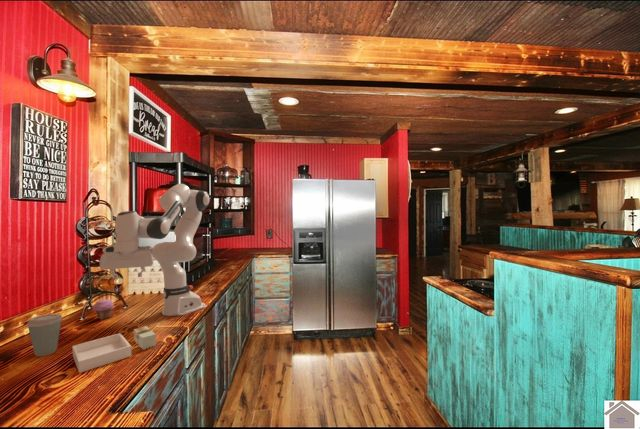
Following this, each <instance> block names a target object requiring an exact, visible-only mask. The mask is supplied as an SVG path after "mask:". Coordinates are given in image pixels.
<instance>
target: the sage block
mask: <svg viewBox="0 0 640 429" xmlns="http://www.w3.org/2000/svg"><path fill="white" fill-rule="evenodd" d="M155 345H156V346H157V334H156V333H155V332H154V331H153V330H150V332H146V333H143V334H139V344H138V347H139V348H140V347H141V348H142V349H144V350H147V349H150V348H153V347H152V346H154V347H156V346H155ZM149 347H150V348H149ZM141 348H140V349H141ZM146 348H147V349H146ZM142 349H141V350H142Z"/></svg>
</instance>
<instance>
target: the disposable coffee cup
mask: <svg viewBox="0 0 640 429" xmlns="http://www.w3.org/2000/svg"><path fill="white" fill-rule="evenodd" d="M28 320H29V321H27V325H26V326H27V327H28V332H29V335H30V340H31V345H32V348H33V352H34V353H33V354H34V355H35V356H36V357H44V356H48V355H51V354H53V353H55V352H57V349H58V343H59V337H60V330H61V326H62V320H63V316H62V315H61V314H58V313H50V314H43V315H37V316H35V317H31V318H29V319H28Z"/></svg>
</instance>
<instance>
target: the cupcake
mask: <svg viewBox="0 0 640 429" xmlns="http://www.w3.org/2000/svg"><path fill="white" fill-rule="evenodd" d="M114 305H115V304H114V302H113V300H111V299H109V298H108V299H107V298H106V299H99V300H98V301H96V302H95V303H94V305H93V307H92V309H93V311H95V312H96V316H97V319H99V320H105V319H107V318H108V319H110V317H112V316H111V315H112V309H113V308H114Z"/></svg>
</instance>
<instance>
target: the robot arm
mask: <svg viewBox="0 0 640 429" xmlns="http://www.w3.org/2000/svg"><path fill="white" fill-rule="evenodd" d="M210 202H211V198H210V195H209V193H208V191H205V190H197V189H190V187H189V186H188V185H186V184H185V183H177V184H175V185H173V186H172V187H170V188H169V189H167V190H166V191H165V192H163V194H162V195H161V196H160V197H159V205H160V207H161V209H162V210H163V211H165V212H164V213H163V214H162V216H159V217H149V218H148V217H146V218H145V217H144V216H141V215H139V214H138V213H137V211H136V210H128V211H121V212H118V213H117V214H116V217H115V223H114V229H115V230H114V232H115V235H116V238H115V244H111V245H109V246H106V247H103V248H102V254H101V256H100V258H99V259H100V260H99V269H100V270H104V271H105V270H109V273H110V274H111V275H112V279H113V280H117V279H118V277H119V275H118V274H116V272H115V271H116V269H117V270H118V269H130V268H140V270H141V271H140V272H138V273H137V278H142V277H143V272H144V271H145V269H146V267H152V266H153V265H154V260H156V261H157V262H158V264H159V266H160V268H161V270H162V274H163V282H164V283H163V284H164V285H163V286H164V287H163V300H164V302H163V307H162V311H161V312H162V313H161V314H162V316H166V317H167V316H168V317H170V316H171V317H172V316H185V315H188V314H191V313H194V312H197V311H199V310H203V309H205V308H206V306H207V305H206V303H204V302H202V299H201V296H200V295H198V294H197V293H195V292H193V291H192V290H193V289H194V286H193V285H190V284H187V273H186V270H185V269H184V268H183V267H182V266H181V264H180V263H186V262H191V261H193V260H194V259H195V257H196V255H197V248H196V246H195V245H194V236H195V234H196V232H197V230H198V228H199V226H200V223H201V221H202V216H203V211H205V210H206V208H208V206H209V204H210ZM183 208H185V211H184V212H183V213H182V211H183ZM181 213H182V215H181ZM180 215H181V216H180ZM178 217H180V218H179V220H178V222H177V224H176V226H175V228H174V229H173V233H174V235H175V236H176V240H175V241H164V242H159V243H156V244H155V245H154V246H153V247H152V246H149V245H147V246H146V245H145V246H140V239H154V240H162V239H164V238H166V237H167V236H168V234H169V233H170V231H171V229H172V226H173V225H174V224H175V222H176V220H177V219H178Z"/></svg>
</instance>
